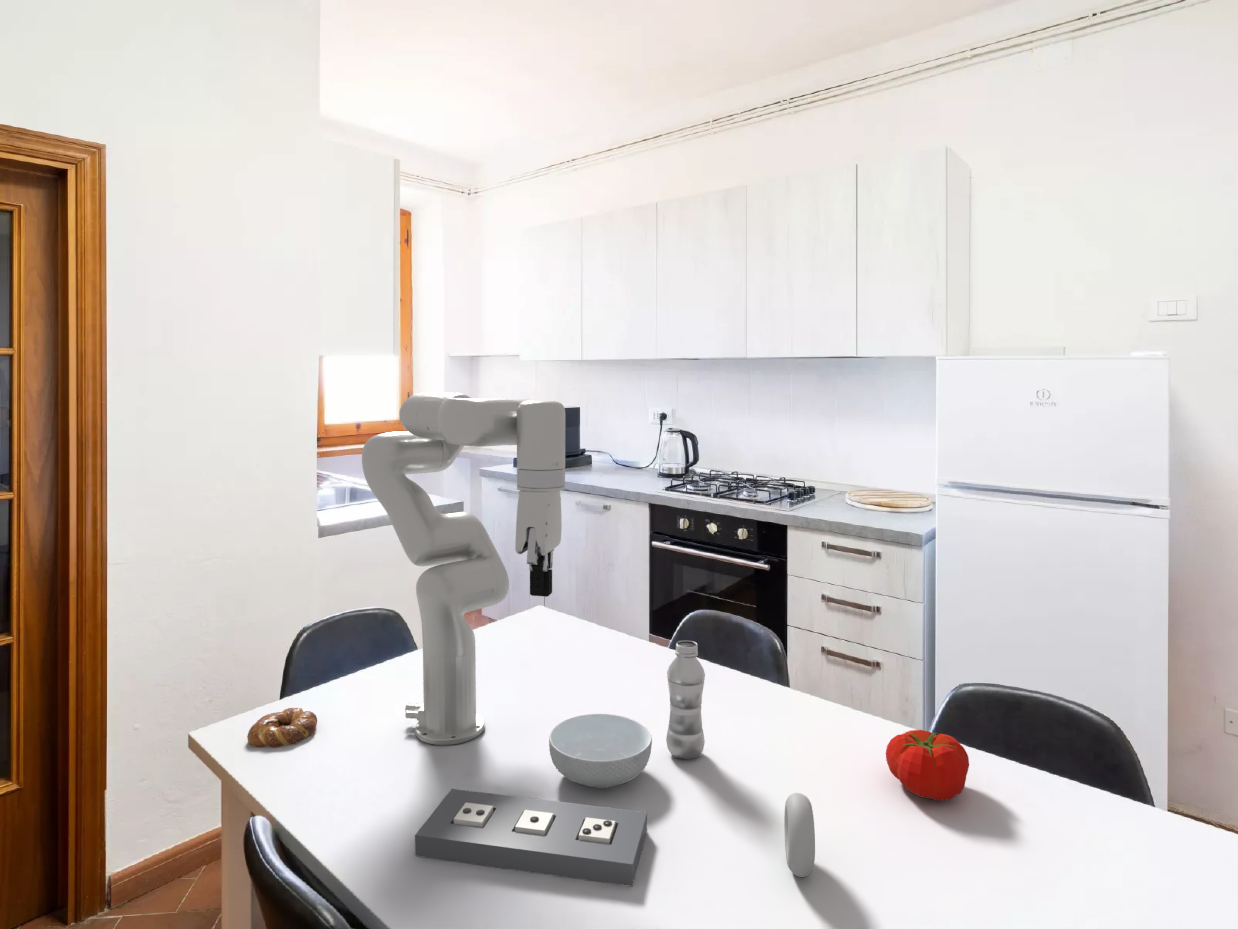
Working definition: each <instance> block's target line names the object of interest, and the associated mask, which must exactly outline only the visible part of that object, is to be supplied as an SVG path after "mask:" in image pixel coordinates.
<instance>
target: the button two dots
mask: <svg viewBox="0 0 1238 929" xmlns="http://www.w3.org/2000/svg"><path fill="white" fill-rule="evenodd" d="M492 814H493V806H490V805H482V804H474V803H465V804H464V805H463V807H462V808H461V810H460V811H459V812H458V814H457V815H456V816H455V818H454V824H458V825H466V826H473V827H481V828H484V827H485V825H486V824H487V822H488V821H489V819H490V817H491V816H492Z"/></svg>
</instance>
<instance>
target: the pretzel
mask: <svg viewBox="0 0 1238 929" xmlns="http://www.w3.org/2000/svg"><path fill="white" fill-rule="evenodd" d="M317 724H318V718H317V715H316V714H315V713H314V712H312V711H311V710H310V711H309V710H307V711H304V710H303V708H302V707H289V708H286V709H284V710H282V711H278V712H273V713H272V712H271V713H267V714H266V715H263V716H262V717H260V718H259V719H258V720H257V721H256V722H255V723H254V724H252V725H251V727H250V728H249V730H248V733H247V736H246V737H247V742H248V744H249V745H250V746H252V747H256V748H266V747H269V748H280V747H283V746H287V745H296V744H298V743H300V742H302V741H303V740H304V739H306V738H308V737H311V735H313V734H314V732H316V730H317Z"/></svg>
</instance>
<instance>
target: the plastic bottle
mask: <svg viewBox="0 0 1238 929" xmlns="http://www.w3.org/2000/svg"><path fill="white" fill-rule="evenodd" d="M698 646H699V645H698V643H697V642H696V641H693V640H678V641H677V642H676V643H675V651H674V652H675V653H674V654H675V655H676V657H675V658H674V659H673V660H672V662H671V663H670V664H669V666H668V668H667V671H666V674H667V676H666V678H667V685H668V691H669V692H668V693H669V721H668V727H667V731H666V740H665V741H666V746H667V750H668V751H669V752H670V754H671V756H674V757H675V758H678V759H683V760H684V759H685V760H689V759H690V760H693V759H695V758H696V759H697V758H698V757H700V755H701V754H702V753H703V752H704V747H705V743H706V742H705V734H704V729H703V720H702V719H703V718H702V702H703V691H704V686H705V679H706V672H705V669H704V667H703V665H702V663H701V662H700V661H699V659H698V658H697V656H699V651H698V650H699V649H698V648H699V647H698Z"/></svg>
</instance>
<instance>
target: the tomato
mask: <svg viewBox="0 0 1238 929" xmlns="http://www.w3.org/2000/svg"><path fill="white" fill-rule="evenodd" d="M903 732H904V733H901V734H896V735H895V736H894V737H893V738H891V739H890V740H889V742H888V744H887V745H886V749H885V760H886V763H887V766H888V769H889V771H890V773H891V774H892V775H893V777H895V778H896V779H897V780H899V782H900V783H901V785H902V786H903V787H904V788H905V789H907V790H908V791H909V792H910V793H912V794H913V795H916V796H918V797H921V798H927V799H931V800H935V801H939V802H941V801H949V800H951V799H953V798H955V797H956V796H958V795H959V794H961V793H962V792H963V790H964V788H965V784H966V782H967V781H966V780H967V776H968V772H969V768H970V759H969V755H968V753H967V751H966V749H965V747H964V746H963V745H962V744H961V743H960V742H959V741H958V740H957V739H956V738H955V737H954V736H951V735H948V734H945V733H938V734H936V732H931V731H928V730H923V729H912V730H907V731H903Z"/></svg>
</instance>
